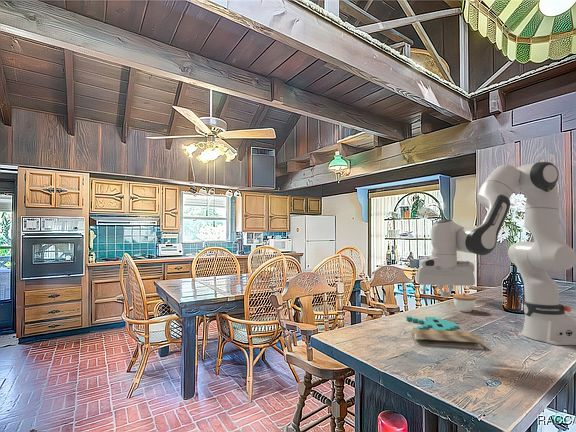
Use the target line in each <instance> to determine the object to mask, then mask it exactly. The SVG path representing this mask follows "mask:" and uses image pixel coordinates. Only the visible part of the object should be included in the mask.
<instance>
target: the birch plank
mask: <svg viewBox="0 0 576 432" xmlns="http://www.w3.org/2000/svg"><path fill="white" fill-rule="evenodd" d="M414 339H417V340H418V339H419V340H418V341H420V340H421V341H423V340H426V341H428V340H429V341H432V340H433V341H434V340H435V341H436V342H438V341H439V342H441V341H442V342H445V341H450V342H466V343H468V344H469V343H470V344H471V343H474V344H475V343H479V344H481V343H483V340H482V336H476V337H474V336H457V335H440V334H422V333H415V338H414ZM435 341H434V342H435Z"/></svg>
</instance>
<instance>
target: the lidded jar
mask: <svg viewBox="0 0 576 432" xmlns="http://www.w3.org/2000/svg"><path fill="white" fill-rule="evenodd" d="M452 296H453V303H454V307H456V309H457V310H458V311H459V312H462V313H464V312H465V313H471V312H472V311H473V310H474V309H475V308H476V302H477V297H476V296H475V295H471V294H466V293H465V292H463V293H462V294H461V293H458V294H453V295H452Z"/></svg>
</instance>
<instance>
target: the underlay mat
mask: <svg viewBox="0 0 576 432" xmlns="http://www.w3.org/2000/svg"><path fill="white" fill-rule="evenodd" d="M411 335H412V338H413V341H414V344H415V345H418V346H419V345H420V346H433V347H449V348H451V347H452V348H462V349H479V350H484V349H485V348H484V347H483V346H482V344H481V343H467V342H451V341H435V340H419V339H415V338H414V336H413V332H411ZM417 341H418V342H417Z"/></svg>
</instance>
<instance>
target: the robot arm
mask: <svg viewBox="0 0 576 432" xmlns="http://www.w3.org/2000/svg"><path fill="white" fill-rule="evenodd" d="M559 175H560V174H559V170H558V168H557V167H556V165H555V164H554V163H552V162H549V161H538V162H534V163H532V162H531V163H527V164H526V163H525V164H522V165H519V166H513V165H511V164H502V165H499V166H497V167H496V168H495V169H494V170H492V172H491V173H489V175H488V176H487V177H486V179H485V180H484V181H483V183H482V185H481V186H480V187H479V189H478V192H477V200H478V202H479V203H480V205H482V206H483V207H484V208H486V209H488V211H487V213H486V215H485V217H484V220H483V221H482V223H481V224H480V225H478V226H476V227H464V226H462V225H459V224H458V223H456V222H455V221H454V220H453V219H441V220H437V221H435V222H433V224H432V226H431V231H430V232H431V234H430V240H431V241H430V242H431V245H432V251H431V256H428V257H424V258H421V259H420V260H419V264H420V265H419V266H418V269H417V274H416V275H417V276H416V279H417V281H416V282H417V283H418V284H419V285H421V286H423V285H424V286H426V285H427V286H437V288H438V289H439V291H440V294H441V297H443V298H451V293H452V291H453V289H454V286H459V287H460V286H462V287H463V286H465V287H468V286H469V287H473V286H475V284H476V279H475V275H474V273H475V264H474V263H473V262H470V261H469V260H466V261H465V260H464V261H463V260H458V255H457V254H458V253H457V252H461V253H469V254H470V253H471V254H474V255H479V256H486V255H489V254H491V252H493V251H494V249H495V248H496V246H497V242H498V236H499V234H500V232H501V229H502V226H503V225H504V222H505V220H506V218H507V216H508V213H509V211H510V207H511V200H510V199H511V197H512V195H513V194H514V193H523V192H524V193H525V195H526V199H525V207H524V208H525V209H524V222H523V224H524V228H525V229H526V230H527V231H528V232H530V233H531V234H532V237H533V241H520V242H515V243H513V244H511V245H509V248H508V250H507V256H508V259H509V261H510V262H511V263H512V264H513V265H515V267H516V269H518V272H519V274H520V277H521V278H522V283H523V289H524V290H523V291H524V300H523V312H524V324H523V328H522V331H521V334H522V336H524V337H526V338H528V339H531V340H536V341H538V342H544V343H546V344H551V345H554V346H576V319H574V318H572V317H571V315H569V314H567V313H566V312H568V313H570V312H571V311H572V308H571V307H570V306H568V305H563V304H562V303H560V296H559V293H560V292H559V284H557V282H556V281H555V280H554V279H552V278H551V277H550V276H549V274H548V272H547V271H552V272H554V271H555V272H556V271H568V270H571V269H572V268H574V266H575V264H576V251H575V250H574V249H573V248H572V247H570V246H569V244H567V243H566V241H565V240H564V238H563V237H562V234H561V231H560V225H559V223H560V222H559V219H560V218H559V217H560V199H559V198H560V197H559V193H558V188H557V187H556V185H557V183H558V181H559ZM444 286H447V287H448V290H447V291H444V290H443V288H444Z"/></svg>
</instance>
